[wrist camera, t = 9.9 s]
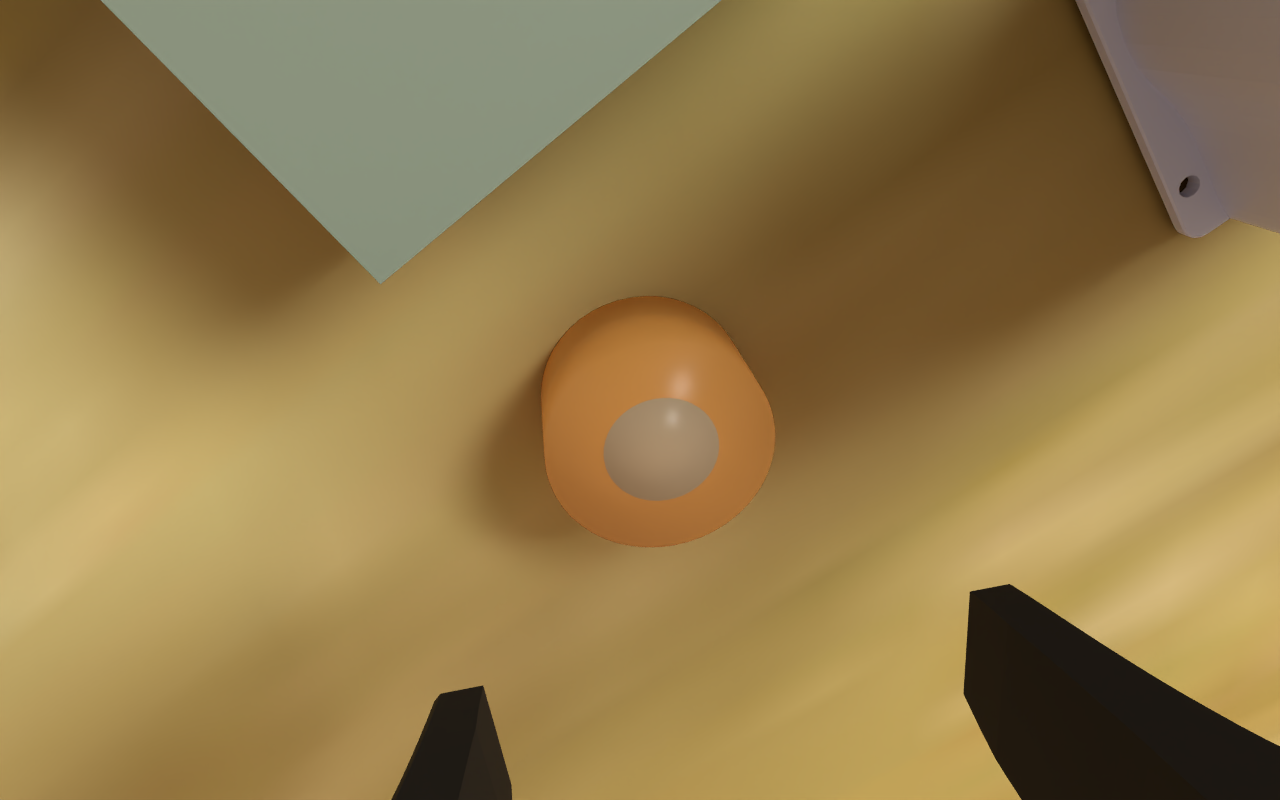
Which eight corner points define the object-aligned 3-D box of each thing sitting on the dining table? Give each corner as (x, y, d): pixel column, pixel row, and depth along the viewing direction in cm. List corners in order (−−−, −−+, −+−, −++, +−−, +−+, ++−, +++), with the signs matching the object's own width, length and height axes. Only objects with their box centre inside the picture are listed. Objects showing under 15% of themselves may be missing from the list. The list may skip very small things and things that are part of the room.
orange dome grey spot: (780, 403, 22) (817, 460, 19) (624, 514, 23) (639, 584, 20) (664, 253, 20) (688, 293, 17) (497, 382, 21) (494, 441, 18)
